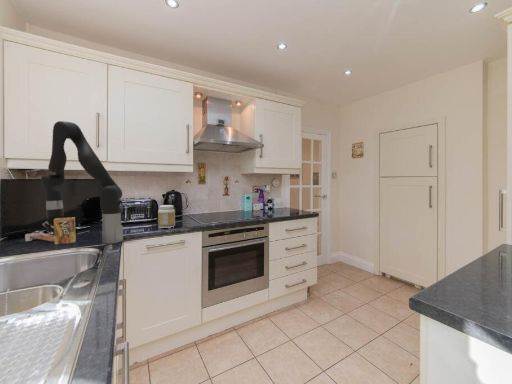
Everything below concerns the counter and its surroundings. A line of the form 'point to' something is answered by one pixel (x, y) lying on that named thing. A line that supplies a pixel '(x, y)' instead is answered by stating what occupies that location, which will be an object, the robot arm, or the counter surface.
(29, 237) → the steel keeper
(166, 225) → the supplement tub
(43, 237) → the link
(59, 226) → the candy box
